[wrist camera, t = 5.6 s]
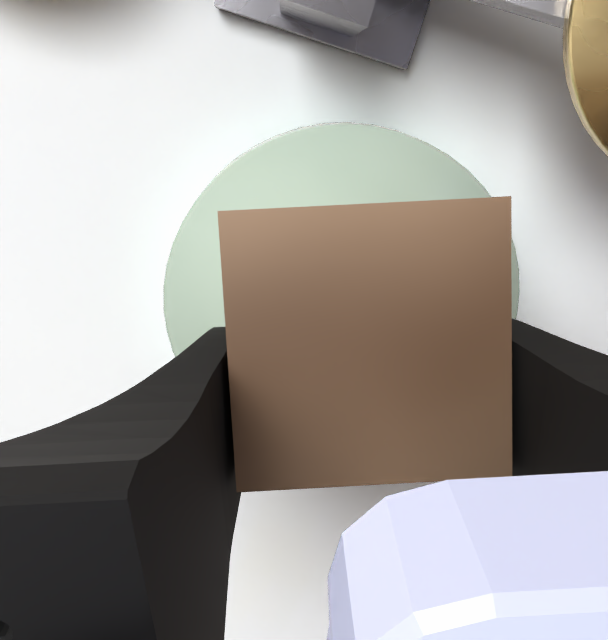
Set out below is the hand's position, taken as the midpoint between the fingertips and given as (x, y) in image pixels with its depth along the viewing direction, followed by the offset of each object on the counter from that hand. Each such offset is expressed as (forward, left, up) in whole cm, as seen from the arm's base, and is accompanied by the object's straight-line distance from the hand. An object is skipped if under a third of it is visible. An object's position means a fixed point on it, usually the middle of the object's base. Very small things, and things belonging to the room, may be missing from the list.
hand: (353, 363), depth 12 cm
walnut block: (0, 0, -2) cm, 2 cm away
